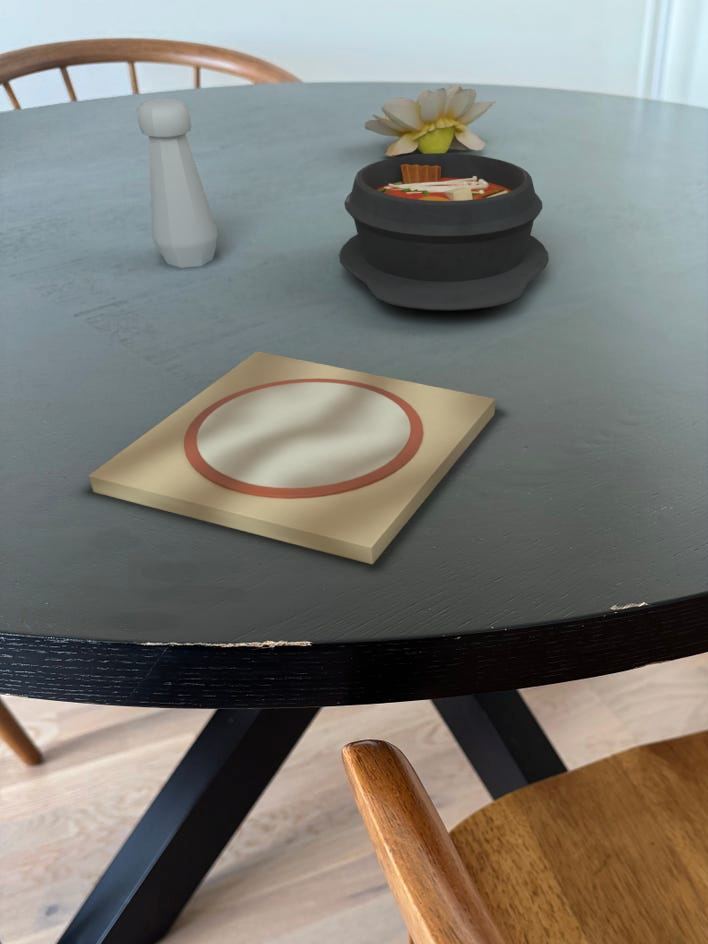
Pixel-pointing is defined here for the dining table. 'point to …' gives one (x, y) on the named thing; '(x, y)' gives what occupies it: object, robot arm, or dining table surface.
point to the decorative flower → (431, 121)
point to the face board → (301, 454)
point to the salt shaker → (176, 187)
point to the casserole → (444, 231)
